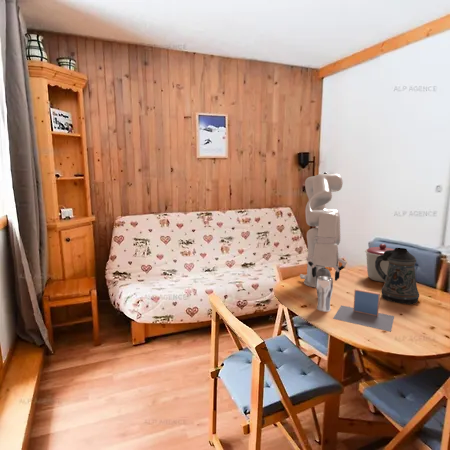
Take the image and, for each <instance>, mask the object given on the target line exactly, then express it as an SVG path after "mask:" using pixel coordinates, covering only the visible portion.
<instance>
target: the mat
mask: <svg viewBox="0 0 450 450" xmlns="http://www.w3.org/2000/svg"><path fill="white" fill-rule="evenodd" d="M353 309H354V307H351V306H347V305H340V307H339V309H337V311H336V313H335V314H334V316H333V317H332V319H333V320H337V321H342V322H346V323H350V324H351V323H352V324H355V325H360V326H364V327H368V328H373V329H377V330H382V331H386V332H390V333H391V332H392V329H393V323H394V320H395V315H391V314H385V313H381V312H379V314H378V316H375V315H370V314H365V313H360V312H355V311H353Z"/></svg>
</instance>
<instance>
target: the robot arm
mask: <svg viewBox="0 0 450 450" xmlns="http://www.w3.org/2000/svg"><path fill="white" fill-rule="evenodd" d="M304 181H305V183H304V184H305V185H304V187H305V193H306V196H307V198H308V201H307V203H306V205H305V222H306V225H307V226H309V227H314V228H309V230H307V232H306V240H307V241H306V243H307V257H306V259H305V260H306V261H307V263H306V264H307V269H306V271H307V272H306V274H302V273H300V274H299V278H300V279H301V280H302V279H303V284H304V285H305V286H307V287H310V288H316V289H317V280H316V273H317V271H318V270H319V269H320V268H323V266H324V268H334V269H335V272H334V281H338V279H340V274H341V273H340V272H341V271H342V270H343V269H344V268H345V267H346V265H347V261H346V260H343V258H341V257H339V247H338V246H339V244H340V243H341V217H340V216H341V215H340V212H339V211H338V209H335V208H326V205H327V204H328V203H330V201H332V198H333V195H332V193H333V192H335V193H336V192H339V191H341V189H342V188H343V183H344V181H343V178H342V175H340V174H338V173H320V174H316V175H315V176H314V175H313V176H309V177H307V178H306V179H305V180H304ZM339 263H340V264H341V265H340V266H339Z"/></svg>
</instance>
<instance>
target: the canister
mask: <svg viewBox="0 0 450 450" xmlns="http://www.w3.org/2000/svg"><path fill="white" fill-rule="evenodd" d="M394 249H395V248H391V247H387V245H386V243H380V244H379V246H371V247H369V248H367V249H365V251H364V252H365V253H366V256H365V257H366V268H367V277H368V278H369V279H370V280H372V281H375V282H380V283H385V280H383V279H382V278H381V276H380V275H379V274H378V272H377V270H376V268H375V261H376V258H377V257H378V256H380V255H383V254H384V252H385V251H387V250H394ZM388 266H389V261H381V263H380V267H381V269H382V271H383V272H384V273H385V274H386V275H387V270H388Z"/></svg>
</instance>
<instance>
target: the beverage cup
mask: <svg viewBox="0 0 450 450" xmlns="http://www.w3.org/2000/svg"><path fill="white" fill-rule="evenodd" d="M319 276H328V277H331V278H332V274H331V271H330V270H329V269H328V268H327V267H325V268H324V266H323V268H320V269H319V270H318V271H317V273H316V280H317V277H319Z"/></svg>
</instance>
